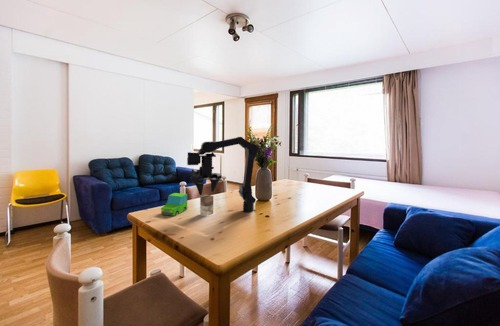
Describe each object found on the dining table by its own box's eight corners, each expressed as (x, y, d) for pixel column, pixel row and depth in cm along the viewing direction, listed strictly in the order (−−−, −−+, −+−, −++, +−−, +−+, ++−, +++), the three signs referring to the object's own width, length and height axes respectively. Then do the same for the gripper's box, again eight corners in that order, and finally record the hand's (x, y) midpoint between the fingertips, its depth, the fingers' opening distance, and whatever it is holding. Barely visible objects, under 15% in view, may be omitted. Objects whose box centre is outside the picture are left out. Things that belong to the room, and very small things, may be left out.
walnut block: (213, 204, 130) (213, 195, 130) (207, 206, 126) (207, 197, 126) (206, 203, 133) (206, 194, 132) (200, 205, 129) (200, 196, 128)
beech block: (206, 211, 134) (206, 203, 133) (213, 213, 131) (213, 204, 130) (200, 214, 129) (200, 205, 129) (206, 215, 127) (206, 206, 126)
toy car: (158, 216, 127) (158, 198, 126) (173, 209, 139) (173, 192, 138) (175, 218, 124) (175, 200, 123) (188, 211, 136) (188, 194, 135)
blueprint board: (207, 209, 139) (207, 208, 139) (220, 213, 134) (220, 211, 134) (189, 216, 128) (189, 214, 128) (202, 220, 122) (202, 218, 122)
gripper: (208, 162, 139) (207, 188, 141) (183, 165, 124) (183, 194, 125) (222, 164, 133) (222, 191, 135) (198, 167, 118) (198, 197, 119)
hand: (206, 193), depth 129 cm, fingers open, 9 cm apart
